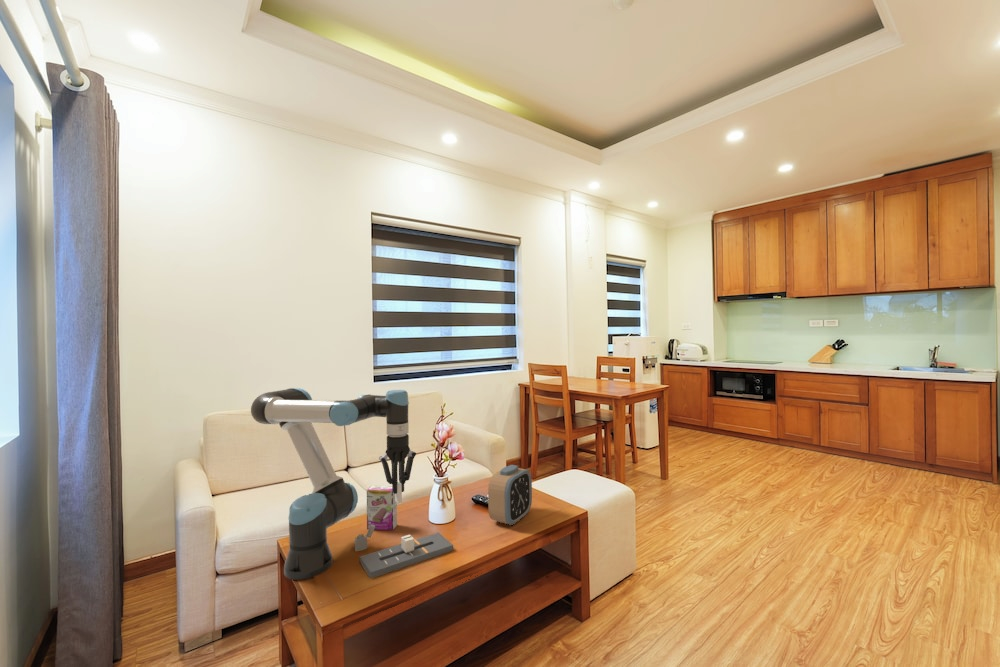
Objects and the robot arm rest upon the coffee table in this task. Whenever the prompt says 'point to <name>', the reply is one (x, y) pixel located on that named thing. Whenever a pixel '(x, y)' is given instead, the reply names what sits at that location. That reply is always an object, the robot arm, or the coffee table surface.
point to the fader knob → (407, 543)
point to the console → (404, 555)
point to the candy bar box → (381, 508)
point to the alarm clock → (510, 494)
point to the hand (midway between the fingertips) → (398, 501)
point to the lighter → (363, 539)
